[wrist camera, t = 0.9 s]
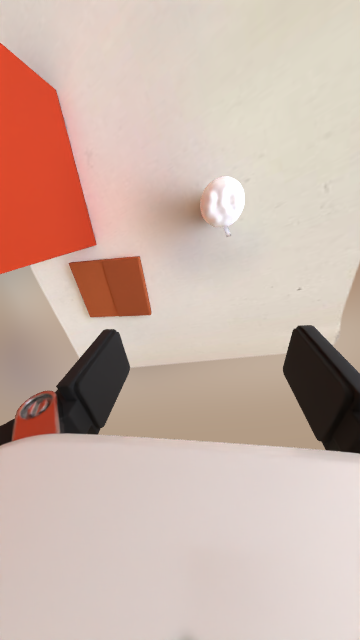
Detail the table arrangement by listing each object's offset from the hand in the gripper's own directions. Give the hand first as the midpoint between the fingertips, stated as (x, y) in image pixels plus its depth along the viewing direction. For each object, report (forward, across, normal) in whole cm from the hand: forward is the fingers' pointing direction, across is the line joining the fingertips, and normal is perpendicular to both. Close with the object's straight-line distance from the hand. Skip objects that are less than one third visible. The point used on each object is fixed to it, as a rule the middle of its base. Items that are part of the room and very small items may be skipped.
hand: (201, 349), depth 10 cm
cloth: (+23, +17, +4) cm, 29 cm away
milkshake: (+23, -2, -7) cm, 24 cm away
